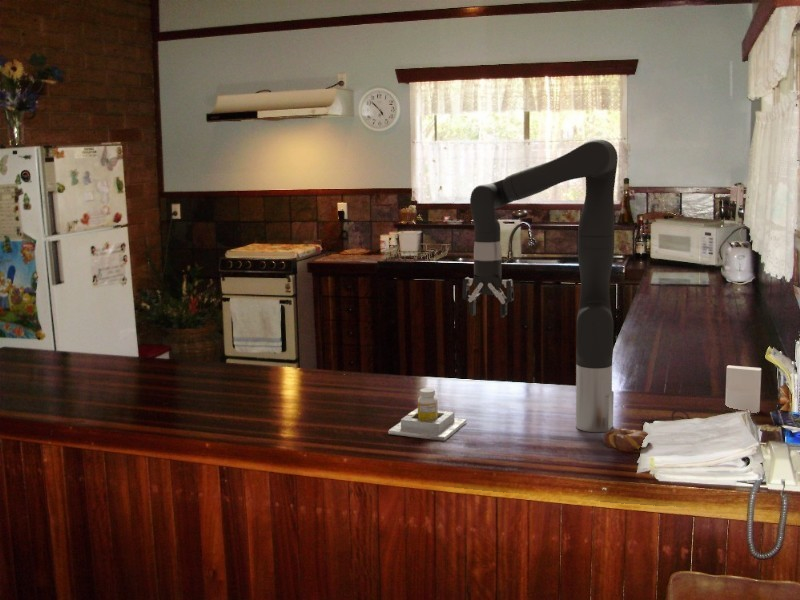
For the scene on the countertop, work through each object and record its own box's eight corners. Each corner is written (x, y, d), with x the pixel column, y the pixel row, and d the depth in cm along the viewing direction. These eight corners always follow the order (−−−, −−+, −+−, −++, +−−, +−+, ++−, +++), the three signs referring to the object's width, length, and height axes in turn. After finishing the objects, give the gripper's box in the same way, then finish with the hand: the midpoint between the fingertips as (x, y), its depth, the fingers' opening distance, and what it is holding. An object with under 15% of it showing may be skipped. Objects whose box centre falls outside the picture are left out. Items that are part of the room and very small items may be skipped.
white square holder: (466, 422, 245) (466, 409, 244) (444, 440, 230) (444, 427, 230) (412, 416, 251) (412, 404, 251) (388, 433, 237) (388, 420, 236)
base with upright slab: (722, 412, 249) (724, 370, 247) (727, 403, 256) (729, 362, 254) (757, 415, 244) (759, 373, 242) (761, 407, 252) (763, 365, 250)
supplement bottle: (432, 428, 237) (431, 393, 235) (414, 426, 240) (413, 391, 238) (441, 423, 242) (440, 388, 240) (423, 420, 244) (423, 386, 243)
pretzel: (643, 437, 230) (644, 423, 230) (657, 451, 220) (657, 437, 219) (597, 438, 230) (598, 424, 229) (608, 453, 219) (609, 438, 219)
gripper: (458, 258, 244) (459, 317, 247) (508, 260, 238) (508, 320, 241) (467, 255, 251) (468, 312, 254) (516, 256, 245) (516, 314, 248)
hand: (488, 315), depth 247 cm, fingers open, 8 cm apart
